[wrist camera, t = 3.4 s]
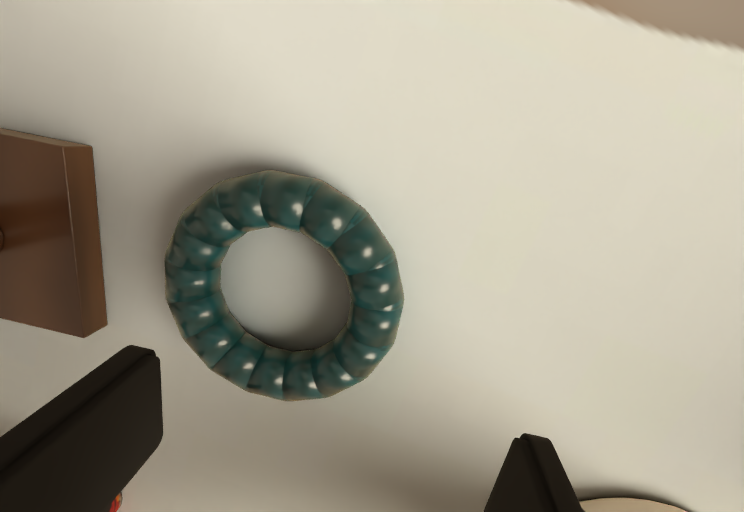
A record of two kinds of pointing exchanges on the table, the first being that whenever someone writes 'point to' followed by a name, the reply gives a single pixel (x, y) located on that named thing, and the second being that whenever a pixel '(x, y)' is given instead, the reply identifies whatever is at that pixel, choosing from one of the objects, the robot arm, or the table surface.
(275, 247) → the table surface
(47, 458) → the robot arm
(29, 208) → the post
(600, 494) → the table surface
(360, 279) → the ring
